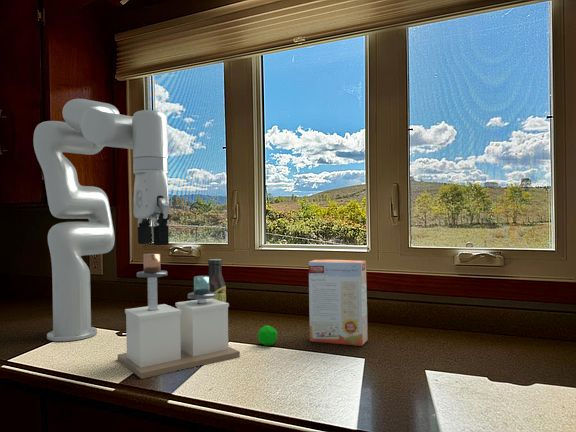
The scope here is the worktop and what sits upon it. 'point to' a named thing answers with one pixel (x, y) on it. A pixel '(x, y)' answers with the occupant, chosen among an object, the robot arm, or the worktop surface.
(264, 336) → the polyhedron
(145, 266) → the plunger
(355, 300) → the cracker box
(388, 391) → the worktop surface
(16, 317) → the worktop surface
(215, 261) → the sauce bottle
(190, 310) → the press stand
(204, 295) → the plunger
